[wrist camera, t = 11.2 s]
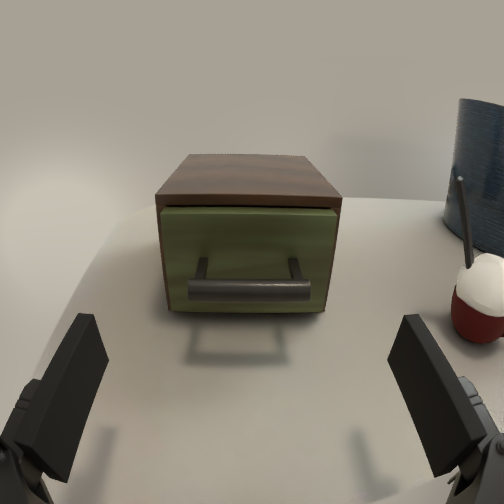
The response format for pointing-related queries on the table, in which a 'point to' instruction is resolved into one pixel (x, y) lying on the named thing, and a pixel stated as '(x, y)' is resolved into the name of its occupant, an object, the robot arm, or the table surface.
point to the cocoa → (477, 286)
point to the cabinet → (247, 187)
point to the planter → (479, 174)
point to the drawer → (247, 257)
